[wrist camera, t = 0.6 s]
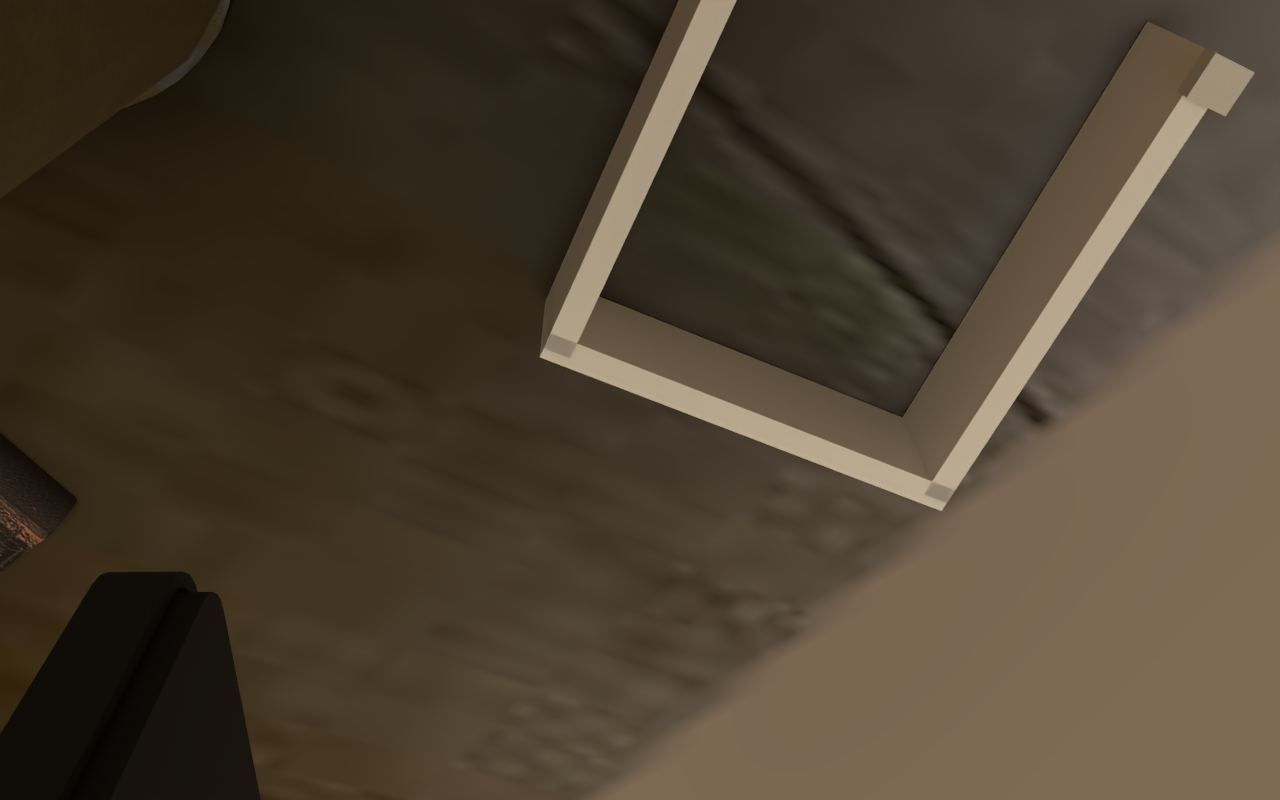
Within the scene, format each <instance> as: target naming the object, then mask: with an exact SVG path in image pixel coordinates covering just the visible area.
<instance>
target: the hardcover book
mask: <svg viewBox="0 0 1280 800" xmlns="http://www.w3.org/2000/svg"><path fill="white" fill-rule="evenodd" d="M75 503H76V498H75V497H74V496H72V495H71V494H70V493H69V492H68V491H67V490H65V489H64V488H63V487H62V486H61V485H60V484H58V483H57V482H56V481H55V480H54V479H53V478H51V477H50V476H49V475H48V474H47V473H46V472H44V471H43V470H42V469H41V468H40V467H39V466H37V465H36V464H35V463H34V462H33V461H32V460H30V459H29V458H28V457H27V456H26V455H25V454H23V453H22V452H21V451H20V450H19V449H18V448H16V447H15V446H14V445H13V444H12V443H11V442H9V441H8V440H7V439H6V438H5V437H4V436H2V435H1V434H0V573H1V572H2V571H3V570H5V569H6V568H7V567H9V566H10V565H11V564H13V563H14V562H15V561H17V560H18V559H19V558H20V557H22V556H23V555H24V554H26V553H27V552H28V551H30V550H31V549H32V548H34V547H35V546H36V545H38V544H39V543H40V542H42V541H43V540H44V539H46V538H47V537H48V536H49V535H50V534H51V533H52V532H53V531H54V530H55V528H56V527H57V526H58V525H59V524H60V523H61V522H62V521H63V520H64V518H65V517H66V516H67V514H68V513H69V512H70V510H71V509H72V507H73V506H74V504H75Z"/></svg>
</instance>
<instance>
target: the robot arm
mask: <svg viewBox="0 0 1280 800" xmlns="http://www.w3.org/2000/svg"><path fill="white" fill-rule="evenodd" d="M0 800H260V794H259V789H258V784H257V779H256V774H255V769H254V764H253V759H252V754H251V748H250V743H249V738H248V733H247V728H246V723H245V718H244V713H243V707H242V702H241V697H240V692H239V687H238V682H237V677H236V672H235V666H234V661H233V656H232V651H231V646H230V641H229V636H228V631H227V625H226V620H225V615H224V610H223V606H222V603H221V600H220V598H219V596H218V595H217V594H216V593H214V592H198V591H197V588H196V585H195V582H194V581H193V579H192V577H191V576H190V574H187V573H185V572H107V573H105V574H102V575H100V576H99V577H98V578H97V579H96V580H95V582H94V583H93V584H92V585H91V587H90V589H89V590H88V592H87V594H86V595H85V597H84V598H83V600H82V602H81V603H80V605H79V607H78V608H77V610H76V612H75V613H74V615H73V616H72V618H71V620H70V621H69V623H68V625H67V626H66V628H65V630H64V631H63V633H62V634H61V636H60V638H59V639H58V641H57V643H56V644H55V646H54V647H53V649H52V651H51V652H50V654H49V656H48V657H47V659H46V661H45V662H44V664H43V665H42V667H41V669H40V670H39V672H38V674H37V675H36V677H35V678H34V680H33V682H32V683H31V685H30V687H29V688H28V690H27V692H26V693H25V695H24V696H23V698H22V700H21V701H20V703H19V705H18V706H17V708H16V710H15V711H14V713H13V714H12V716H11V718H10V719H9V721H8V723H7V724H6V726H5V727H4V729H3V731H2V732H1V734H0Z"/></svg>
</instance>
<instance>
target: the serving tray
mask: <svg viewBox="0 0 1280 800" xmlns="http://www.w3.org/2000/svg"><path fill="white" fill-rule="evenodd" d="M736 1H737V0H679V1H678V3H677V5H676V8H675V10H674V12H673V14H672V17H671V19H670V21H669V23H668V26H667V28H666V30H665V32H664V35H663V37H662V39H661V41H660V44H659V46H658V48H657V50H656V53H655V55H654V57H653V59H652V62H651V64H650V66H649V68H648V71H647V73H646V75H645V77H644V80H643V82H642V84H641V86H640V89H639V91H638V93H637V95H636V98H635V100H634V102H633V104H632V107H631V109H630V111H629V113H628V116H627V118H626V120H625V122H624V125H623V127H622V129H621V131H620V134H619V136H618V138H617V140H616V143H615V145H614V147H613V149H612V152H611V154H610V156H609V159H608V161H607V163H606V165H605V168H604V170H603V172H602V174H601V177H600V179H599V181H598V183H597V186H596V188H595V190H594V192H593V195H592V197H591V199H590V201H589V204H588V206H587V208H586V210H585V213H584V215H583V217H582V219H581V222H580V224H579V226H578V228H577V231H576V233H575V235H574V237H573V240H572V242H571V244H570V246H569V249H568V251H567V253H566V255H565V258H564V260H563V262H562V264H561V267H560V269H559V271H558V273H557V276H556V278H555V280H554V282H553V285H552V287H551V289H550V291H549V294H548V296H547V298H546V300H545V309H544V319H543V329H542V339H541V349H540V357H541V358H543V359H546V360H548V361H551V362H554V363H556V364H559V365H561V366H564V367H567V368H569V369H572V370H574V371H577V372H580V373H582V374H585V375H588V376H590V377H593V378H595V379H598V380H601V381H603V382H606V383H608V384H611V385H614V386H616V387H619V388H621V389H624V390H627V391H629V392H632V393H635V394H637V395H640V396H642V397H645V398H648V399H650V400H653V401H655V402H658V403H661V404H663V405H666V406H668V407H671V408H674V409H676V410H679V411H681V412H684V413H687V414H689V415H692V416H695V417H697V418H700V419H702V420H705V421H708V422H710V423H713V424H715V425H718V426H721V427H723V428H726V429H728V430H731V431H734V432H736V433H739V434H742V435H744V436H747V437H749V438H752V439H755V440H757V441H760V442H762V443H765V444H768V445H770V446H773V447H775V448H778V449H781V450H783V451H786V452H788V453H791V454H794V455H796V456H799V457H802V458H804V459H807V460H809V461H812V462H815V463H817V464H820V465H822V466H825V467H828V468H830V469H833V470H835V471H838V472H841V473H843V474H846V475H849V476H851V477H854V478H856V479H859V480H862V481H864V482H867V483H869V484H872V485H875V486H877V487H880V488H882V489H885V490H888V491H890V492H893V493H896V494H898V495H901V496H903V497H906V498H909V499H911V500H914V501H916V502H919V503H922V504H924V505H927V506H929V507H932V508H935V509H937V510H940V511H942V509H943V508H944V506H945V505H946V503H947V502H948V500H949V499H950V497H951V496H952V494H953V493H954V491H955V490H956V488H957V487H958V485H959V484H960V482H961V481H962V479H963V478H964V476H965V475H966V473H967V472H968V470H969V469H970V467H971V466H972V464H973V463H974V461H975V460H976V458H977V457H978V455H979V453H980V452H981V450H982V449H983V447H984V446H985V444H986V443H987V441H988V440H989V438H990V437H991V435H992V434H993V432H994V431H995V429H996V428H997V426H998V425H999V423H1000V422H1001V420H1002V419H1003V417H1004V416H1005V414H1006V413H1007V411H1008V410H1009V408H1010V407H1011V405H1012V404H1013V402H1014V401H1015V399H1016V398H1017V396H1018V395H1019V393H1020V392H1021V390H1022V388H1023V387H1024V385H1025V384H1026V382H1027V381H1028V379H1029V378H1030V376H1031V375H1032V373H1033V372H1034V370H1035V369H1036V367H1037V366H1038V364H1039V363H1040V361H1041V360H1042V358H1043V357H1044V355H1045V354H1046V352H1047V351H1048V349H1049V348H1050V346H1051V345H1052V343H1053V342H1054V340H1055V339H1056V337H1057V336H1058V334H1059V333H1060V331H1061V330H1062V328H1063V327H1064V325H1065V323H1066V322H1067V320H1068V319H1069V317H1070V316H1071V314H1072V313H1073V311H1074V310H1075V308H1076V307H1077V305H1078V304H1079V302H1080V301H1081V299H1082V298H1083V296H1084V295H1085V293H1086V292H1087V290H1088V289H1089V287H1090V286H1091V284H1092V283H1093V281H1094V280H1095V278H1096V277H1097V275H1098V274H1099V272H1100V271H1101V269H1102V268H1103V266H1104V265H1105V263H1106V262H1107V260H1108V258H1109V257H1110V255H1111V254H1112V252H1113V251H1114V249H1115V248H1116V246H1117V245H1118V243H1119V242H1120V240H1121V239H1122V237H1123V236H1124V234H1125V233H1126V231H1127V230H1128V228H1129V227H1130V225H1131V224H1132V222H1133V221H1134V219H1135V218H1136V216H1137V215H1138V213H1139V212H1140V210H1141V209H1142V207H1143V206H1144V204H1145V203H1146V201H1147V200H1148V198H1149V197H1150V195H1151V193H1152V192H1153V190H1154V189H1155V187H1156V186H1157V184H1158V183H1159V181H1160V180H1161V178H1162V177H1163V175H1164V174H1165V172H1166V171H1167V169H1168V168H1169V166H1170V165H1171V163H1172V162H1173V160H1174V159H1175V157H1176V156H1177V154H1178V153H1179V151H1180V150H1181V148H1182V147H1183V145H1184V144H1185V142H1186V141H1187V139H1188V138H1189V136H1190V135H1191V133H1192V132H1193V130H1194V128H1195V127H1196V125H1197V124H1198V122H1199V121H1200V119H1201V118H1202V116H1203V115H1204V113H1205V112H1206V110H1207V109H1208V108H1209V109H1211V110H1213V111H1215V112H1217V113H1219V114H1221V115H1223V116H1226V115H1227V113H1228V112H1229V110H1230V109H1231V108H1232V106H1233V105H1234V103H1235V102H1236V100H1237V99H1238V97H1239V96H1240V94H1241V93H1242V91H1243V90H1244V88H1245V87H1246V85H1247V84H1248V82H1249V81H1250V79H1251V78H1252V76H1253V75H1254V73H1255V72H1253V71H1251V70H1249V69H1247V68H1245V67H1243V66H1241V65H1239V64H1237V63H1235V62H1233V61H1231V60H1229V59H1227V58H1225V57H1223V56H1221V55H1219V54H1217V53H1215V52H1213V51H1211V50H1209V49H1207V48H1204V47H1202V46H1200V45H1197V44H1195V43H1193V42H1191V41H1189V40H1187V39H1185V38H1183V37H1180V36H1178V35H1176V34H1174V33H1172V32H1170V31H1168V30H1165V29H1163V28H1161V27H1159V26H1157V25H1155V24H1153V23H1151V22H1148V21H1147V23H1146V24H1145V26H1144V28H1143V29H1142V31H1141V32H1140V34H1139V36H1138V37H1137V39H1136V41H1135V42H1134V44H1133V45H1132V47H1131V49H1130V50H1129V52H1128V53H1127V55H1126V57H1125V58H1124V60H1123V62H1122V63H1121V65H1120V66H1119V68H1118V70H1117V71H1116V73H1115V75H1114V76H1113V78H1112V79H1111V81H1110V83H1109V84H1108V86H1107V87H1106V89H1105V91H1104V92H1103V94H1102V96H1101V97H1100V99H1099V100H1098V102H1097V104H1096V105H1095V107H1094V108H1093V110H1092V112H1091V113H1090V115H1089V117H1088V118H1087V120H1086V121H1085V123H1084V125H1083V126H1082V128H1081V129H1080V131H1079V133H1078V134H1077V136H1076V138H1075V139H1074V141H1073V142H1072V144H1071V146H1070V147H1069V149H1068V151H1067V152H1066V154H1065V155H1064V157H1063V159H1062V160H1061V162H1060V163H1059V165H1058V167H1057V168H1056V170H1055V172H1054V173H1053V175H1052V176H1051V178H1050V180H1049V181H1048V183H1047V184H1046V186H1045V188H1044V189H1043V191H1042V193H1041V194H1040V196H1039V197H1038V199H1037V201H1036V202H1035V204H1034V205H1033V207H1032V209H1031V210H1030V212H1029V214H1028V215H1027V217H1026V218H1025V220H1024V222H1023V223H1022V225H1021V227H1020V228H1019V230H1018V231H1017V233H1016V235H1015V236H1014V238H1013V239H1012V241H1011V243H1010V244H1009V246H1008V248H1007V249H1006V251H1005V252H1004V254H1003V256H1002V257H1001V259H1000V260H999V262H998V264H997V265H996V267H995V269H994V270H993V272H992V273H991V275H990V277H989V278H988V280H987V282H986V283H985V285H984V286H983V288H982V290H981V291H980V293H979V294H978V296H977V298H976V299H975V301H974V303H973V304H972V306H971V307H970V309H969V311H968V312H967V314H966V315H965V317H964V319H963V320H962V322H961V324H960V325H959V327H958V328H957V330H956V332H955V333H954V335H953V336H952V338H951V340H950V341H949V343H948V345H947V346H946V348H945V349H944V351H943V353H942V354H941V356H940V358H939V359H938V361H937V362H936V364H935V366H934V367H933V369H932V370H931V372H930V374H929V375H928V377H927V379H926V380H925V382H924V383H923V385H922V387H921V388H920V390H919V391H918V393H917V395H916V396H915V398H914V400H913V401H912V403H911V404H910V406H909V408H908V409H907V411H906V412H905V414H904V416H903V417H900V416H898V415H895V414H892V413H890V412H887V411H885V410H882V409H880V408H877V407H875V406H872V405H870V404H867V403H865V402H862V401H860V400H857V399H855V398H852V397H850V396H847V395H845V394H842V393H840V392H837V391H835V390H832V389H830V388H827V387H825V386H822V385H820V384H817V383H815V382H812V381H810V380H807V379H805V378H802V377H800V376H797V375H795V374H792V373H790V372H787V371H785V370H782V369H780V368H777V367H775V366H772V365H770V364H767V363H765V362H762V361H760V360H757V359H755V358H752V357H750V356H747V355H745V354H742V353H740V352H737V351H735V350H732V349H730V348H727V347H725V346H722V345H720V344H717V343H715V342H712V341H710V340H707V339H705V338H702V337H700V336H697V335H695V334H692V333H690V332H687V331H685V330H682V329H680V328H677V327H675V326H672V325H670V324H667V323H665V322H662V321H660V320H657V319H655V318H652V317H650V316H647V315H645V314H642V313H640V312H637V311H635V310H632V309H630V308H627V307H625V306H622V305H620V304H617V303H615V302H612V301H610V300H607V299H605V298H602V297H600V296H599V295H600V293H601V291H602V289H603V287H604V285H605V282H606V280H607V278H608V276H609V274H610V272H611V270H612V267H613V265H614V263H615V261H616V259H617V257H618V255H619V252H620V250H621V248H622V246H623V244H624V242H625V239H626V237H627V235H628V233H629V231H630V229H631V227H632V224H633V222H634V220H635V218H636V216H637V214H638V211H639V209H640V207H641V205H642V203H643V201H644V199H645V196H646V194H647V192H648V190H649V188H650V186H651V183H652V181H653V179H654V177H655V175H656V173H657V171H658V168H659V166H660V164H661V162H662V160H663V158H664V156H665V153H666V151H667V149H668V147H669V145H670V143H671V140H672V138H673V136H674V134H675V132H676V130H677V128H678V125H679V123H680V121H681V119H682V117H683V115H684V112H685V110H686V108H687V106H688V104H689V102H690V100H691V97H692V95H693V93H694V91H695V89H696V87H697V85H698V82H699V80H700V78H701V76H702V74H703V72H704V69H705V67H706V65H707V63H708V61H709V59H710V57H711V54H712V52H713V50H714V48H715V46H716V44H717V41H718V39H719V37H720V35H721V33H722V31H723V29H724V26H725V24H726V22H727V20H728V18H729V16H730V13H731V11H732V9H733V7H734V5H735V3H736Z"/></svg>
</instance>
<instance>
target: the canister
mask: <svg viewBox="0 0 1280 800" xmlns="http://www.w3.org/2000/svg"><path fill="white" fill-rule="evenodd" d="M230 1H231V0H0V199H1V198H2V197H3V196H5V195H6V194H7V193H9V192H10V191H11V190H13V189H14V188H15V187H17V186H18V185H19V184H21V183H22V182H24V181H25V180H26V179H28V178H29V177H30V176H32V175H33V174H34V173H36V172H37V171H38V170H40V169H41V168H42V167H44V166H45V165H47V164H48V163H49V162H51V161H52V160H53V159H55V158H56V157H57V156H59V155H60V154H61V153H63V152H64V151H65V150H67V149H68V148H70V147H71V146H72V145H74V144H75V143H76V142H78V141H79V140H80V139H82V138H83V137H84V136H86V135H87V134H88V133H90V132H91V131H92V130H94V129H95V128H97V127H98V126H99V125H101V124H102V123H103V122H105V121H106V120H107V119H109V118H110V117H111V116H113V115H114V114H115V113H117V112H118V111H120V110H121V109H122V108H125V107H129V106H131V105H133V104H136V103H138V102H141V101H143V100H145V99H148V98H150V97H153V96H155V95H157V94H159V93H160V92H162V91H163V90H165V89H166V88H168V87H169V86H171V85H172V84H174V83H176V82H177V81H179V80H180V79H181V78H182V77H183V76H184V75H185V74H186V73H187V72H188V71H190V70H191V69H192V68H193V67H194V66H195V65H196V64H197V63H198V62H199V61H200V60H201V58H202V57H203V56H204V54H205V53H206V51H207V50H208V49H209V47H210V46H211V44H212V43H213V42H214V40H215V39H216V37H217V36H218V34H219V33H220V31H221V30H222V26H223V23H224V20H225V17H226V14H227V11H228V7H229V4H230Z"/></svg>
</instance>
